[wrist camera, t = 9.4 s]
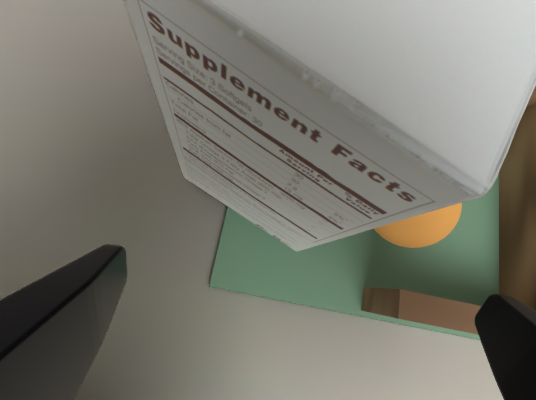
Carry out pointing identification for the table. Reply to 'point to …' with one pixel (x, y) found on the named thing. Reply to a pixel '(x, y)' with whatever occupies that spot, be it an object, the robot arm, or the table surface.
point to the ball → (422, 228)
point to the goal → (510, 245)
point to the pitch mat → (365, 265)
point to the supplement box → (338, 104)
